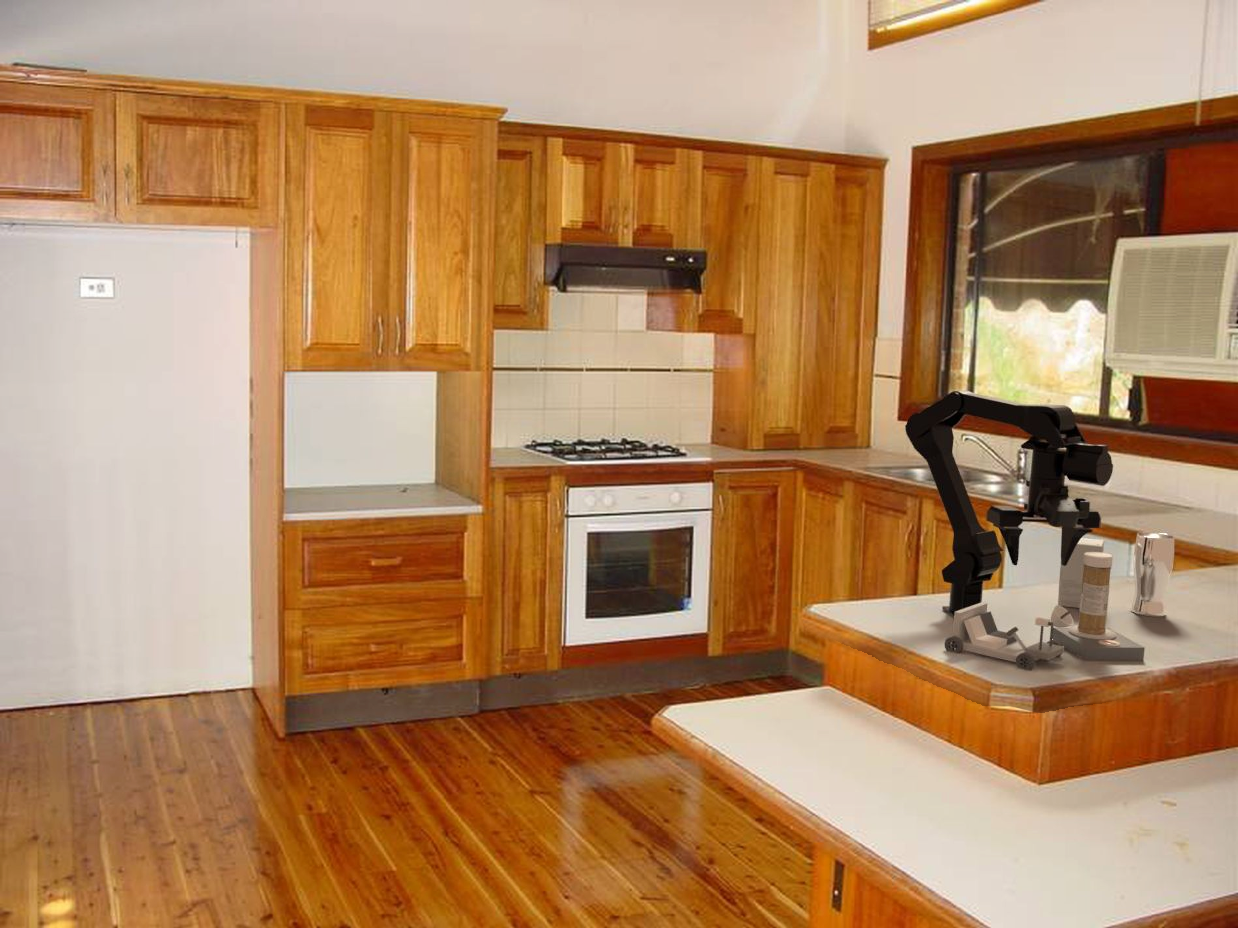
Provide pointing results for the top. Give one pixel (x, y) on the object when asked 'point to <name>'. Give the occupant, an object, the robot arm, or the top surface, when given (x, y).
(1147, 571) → the beer glass
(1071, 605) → the supplement box
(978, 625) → the toy go kart
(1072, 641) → the kitchen scale
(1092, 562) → the sprinkles bottle
